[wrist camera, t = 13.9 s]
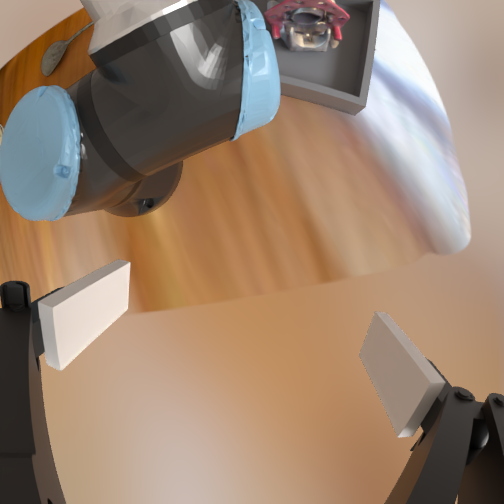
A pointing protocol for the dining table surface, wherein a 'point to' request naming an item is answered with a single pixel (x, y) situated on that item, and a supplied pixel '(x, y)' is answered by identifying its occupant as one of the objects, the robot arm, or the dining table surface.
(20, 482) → the robot arm
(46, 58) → the soupspoon
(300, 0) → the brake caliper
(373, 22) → the parts bin
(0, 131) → the coffee can
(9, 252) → the dining table surface
